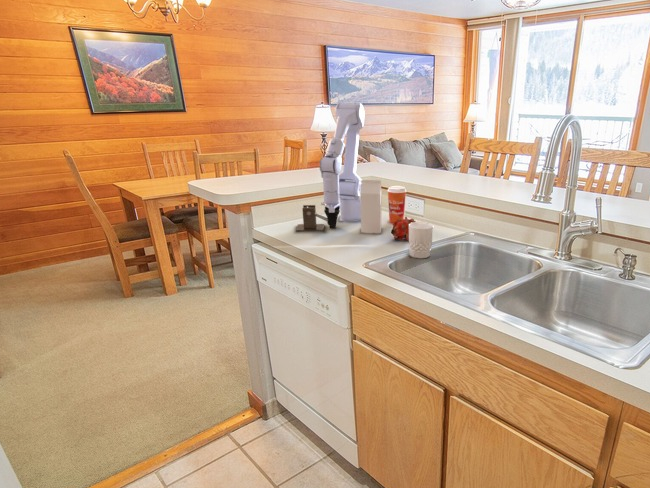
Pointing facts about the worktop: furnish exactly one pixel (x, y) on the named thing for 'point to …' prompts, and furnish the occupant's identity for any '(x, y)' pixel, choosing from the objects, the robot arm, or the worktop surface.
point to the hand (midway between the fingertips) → (332, 226)
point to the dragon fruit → (401, 228)
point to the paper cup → (396, 202)
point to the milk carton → (370, 206)
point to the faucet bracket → (309, 220)
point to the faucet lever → (320, 216)
